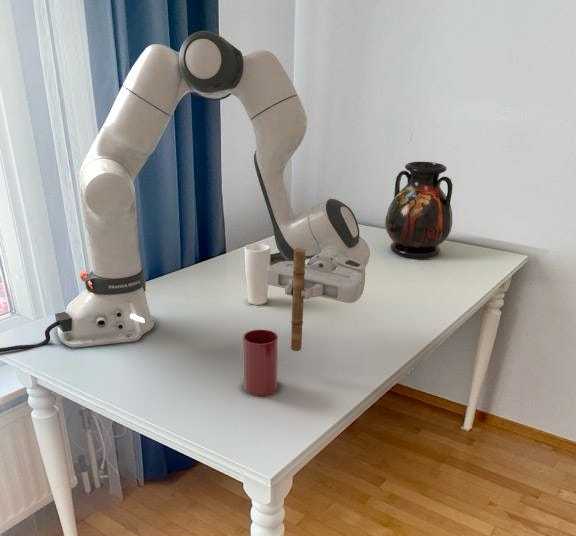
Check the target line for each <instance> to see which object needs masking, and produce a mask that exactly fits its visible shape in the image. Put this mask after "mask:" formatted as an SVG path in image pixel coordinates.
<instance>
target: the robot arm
mask: <svg viewBox="0 0 576 536" xmlns="http://www.w3.org/2000/svg"><path fill="white" fill-rule="evenodd" d="M188 94H189V95H193V96H197V97H201V98H204V99H208V100H212V101H221V100H224V99H225V100H226V99H227V98H229V97H230V96H234V97H236V98H237V99H238V100H239V101H240V103H241V104H242V106H243V108H244V110H245V112H246V115H247V116H248V119H249V121H250V123H251V125H252V128H253V131H254V135H255V144H256V146H255V151H254V153H253V164H254V169H255V172H256V175H257V180H258V183H259V186H260V190H261V192H262V195H263V198H264V202H265V206H266V208H267V211H268V215H269V218H270V221H271V224H272V230H273V236H274V241H275V245H276V248H277V250H278V253H279V252H280V253H281V254H282V255H283V256H284V257H285V258H287V259H289V260H291V261H282V262H279V263H276V264H274V265H271V266H269V267H268V268H267V271H266V280H267V283H268V286H273V287H277V288H281V289H284V294H285V295H287V296H292V297H293V266H294V249H296V248H303V249H305V250H306V254H305V261H307V260H308V259H309V260H308V261H307V263H305V277H304V289H302V290H301V294H302V295H301V298H303V299H304V300H310V299H311V298H318V297H320V298H324V299H329V300H333V301H337V302H342V303H347V304H354V303H357V302H358V301H359V300H360V298H361V297H362V296H363V293H364V289H365V283H366V267H367V266H368V264H369V262H370V257H371V251H370V247H369V245H368V243H367V241H365V239H364V238H363V237H361V236H360V235H361V234H360V228H359V225H358V221H357V220H358V219H357V218H356V215H355V214H354V212H353V210H352V209H351V208H350V207H349V206H348V205H347V204H345V203H344V202H343V201H341V200H339V199H336V198H329V199H326V200H325V201H323V202H320V203H318V204H316V205H313V206H312V207H310V208H309V209H307V210H304V211H302V212H300V213H298V214H295V213H294V211H293V207H292V204H291V201H290V197H289V194H288V190H287V187H286V184H285V179H284V174H285V173H284V172H285V168H286V166H287V164H288V162H289V161H290V159H291V158H292V156H294V154H295V153H296V151H297V150H298V149H299V147H300V146H301V144H302V143H303V141H304V138H305V136H306V132H307V129H308V128H307V127H308V119H307V114H306V111H305V108H304V106H303V103H302V101H301V98H300V96H299V94H298V92H297V89H296V88H295V86H294V83H293V82H292V80H291V77H290V76H289V74H288V72H287V71H286V70H285V68H284V66H283V65H282V63H281V62H280V60H279V59H278V57H277V56H276V55H275V54H274V53H273V52H271V51H269V50H262V49H261V50H256V51H253V52H251V53H248V54H245V55H243V53H242V51H241V50H240V49H238V48H237V47H236V46H234V45H233V44H232V43H230V42H229V41H228V40H226V39H225V38H224V37H223V36H221V35H220V34H217V33H215V32H212V31H209V30H201V31H196V32H193V33H192V34H190V35H188V37H186V39H185V40H184V41H183V43H182V44H181V46H180V49H179V51H176V50H174V49H172V48H171V47H169V46H167V45H164V44H161V43H153V44H150V45H148V46H147V47H146V48H145V49H144V50H143V51H142V53H141V54H140V55H139V57H138V58H137V59H136V61H135V62H134V64H133V65H132V67H131V69H130V70H129V72H128V74H127V76H126V77H125V80H124V82H123V84H122V86H121V88H120V89H119V92H118V94H117V96H116V99H115V100H114V102H113V105H112V107H111V109H110V111H109V114H108V116H107V118H106V120H105V122H104V123H103V126H101V128H100V130H99V132H98V134H97V135H96V137H95V139H94V141H93V143H92V145H91V146H90V148H89V151H88V153H87V154H86V156H85V158H84V160H83V162H82V164H81V167H80V168H79V174H78V176H79V177H78V180H79V193H80V200H81V206H82V212H83V218H84V225H85V230H86V238H87V243H88V250H89V256H90V263H91V271H90V272H89V273H88V272H87V270H82V271H80V273H79V275H78V276H79V278H80V279H81V281H83V282H84V284H85V289H84V290H82V292H80V293H79V294H78V295H77V296H76V297H75V298H73V300H71V301H70V302H69V303H68V305H67V306H66V309H65V311H60V312H57V313H54V317H55V321H54V322H53V323H51V324H50V325H48V326H47V327H46V329H44V330H45V331H44V336H45V339H44V340H42V341H41V342H39V343H35V344H19V345H11V346H4V347H0V353H6V352H12V351H19V350H30V349H35V348H39V347H43V346H46V345H47V344H48V343H50V341H51V334H50V332H51V331H52V330H53V329H55V328H56V327H57V337H58V339H59V341H60V342H61V343H63V344H64V345H65V346H67V347H69V348H74V349H75V348H84V347H85V348H86V347H92V346H93V347H94V346H103V345H111V344H122V343H130V342H137V341H139V340H140V339H141V338H142V336H143V335H144V334H147V333H148V332H150V331H151V330H152V329H153V327H155V321H154V317H153V316H152V314H151V311H150V306H149V304H148V300H147V296H146V292H147V289H146V287H147V283H146V274H145V271H144V268H142V259H141V252H140V242H139V241H140V240H139V226H138V212H137V209H138V208H137V197H136V188H135V184H134V182H135V180H136V178H137V176H138V175H139V174H140V172H141V170H142V168H143V167H144V166H145V164H146V162H147V161H148V159H149V158H150V156H151V155H152V154H153V153H154V152H155V150H156V148H157V146H158V144H159V143H160V141H161V138H162V136H163V134H164V132H165V130H166V128H167V126H168V125H169V122H170V121H171V119H172V116H173V115H174V112H175V110H176V109H177V106H178V104H179V102H181V100H182V98H183V97H184V96H185V95H188ZM317 253H319V254H317ZM315 254H317V255H315ZM313 255H315V256H313ZM312 256H313V257H312ZM310 257H312V258H310Z"/></svg>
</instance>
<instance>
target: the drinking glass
mask: <svg viewBox="0 0 576 536" xmlns="http://www.w3.org/2000/svg"><path fill="white" fill-rule="evenodd" d="M270 254H271V247H270V245H268V244H264V243H250V244H247V245H244V249H243V262H244V273H245V283H246V291H247V292H246V293H247V294H246V295H247V296H246V297H247V298H246V299H247V302H248V303H249V304H251V305H255V306H261V305H265V304H266V303H267V302H268V291H269V284H268V283H267V280H266V271H267V268H268V267H269V266H270Z"/></svg>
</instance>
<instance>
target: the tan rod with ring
mask: <svg viewBox="0 0 576 536" xmlns="http://www.w3.org/2000/svg"><path fill="white" fill-rule="evenodd" d="M305 254H306V250H305V249H303V248H296V249H294V266H293V296H292V297H291V299H292V300H291V321H290V323H291V326H290V327H291V328H290V329H291V331H290V350H291V351H293V352H300V351H302V345H303V344H302V343H303V325H304V321H303V319H304V301H305V299H303V298H301V295H302V294H301V290H302V289H304V277H305V264H306V260H305Z"/></svg>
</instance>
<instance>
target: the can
mask: <svg viewBox="0 0 576 536" xmlns="http://www.w3.org/2000/svg"><path fill="white" fill-rule="evenodd" d="M242 344H243V345H242V348H243V349H242V350H243V351H242V353H243V354H242V355H243V389H244V391H245V392H246V393H247V394H249V395H252V396H256V397H265V396H269V395H272V394H274V393H275V392H276V391H277V389H278V363H279V362H278V359H279V357H278V355H279V354H278V353H279V352H278V347H279V336H278V334H277V333H276V332H275V331H272V330H268V329H252V330H249V331H246V332H245V333H244V334H243V336H242Z"/></svg>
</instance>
